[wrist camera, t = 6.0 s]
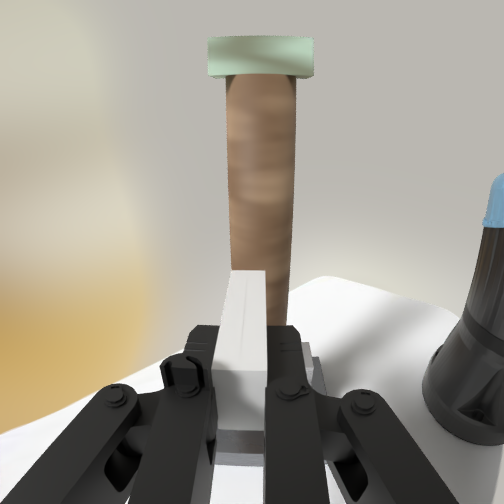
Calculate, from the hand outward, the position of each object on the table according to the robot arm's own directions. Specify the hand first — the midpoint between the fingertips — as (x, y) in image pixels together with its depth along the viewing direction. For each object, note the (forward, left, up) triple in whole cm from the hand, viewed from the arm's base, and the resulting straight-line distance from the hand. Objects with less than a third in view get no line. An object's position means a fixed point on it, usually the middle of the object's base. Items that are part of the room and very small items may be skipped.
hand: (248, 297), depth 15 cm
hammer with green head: (-1, -7, -13) cm, 15 cm away
